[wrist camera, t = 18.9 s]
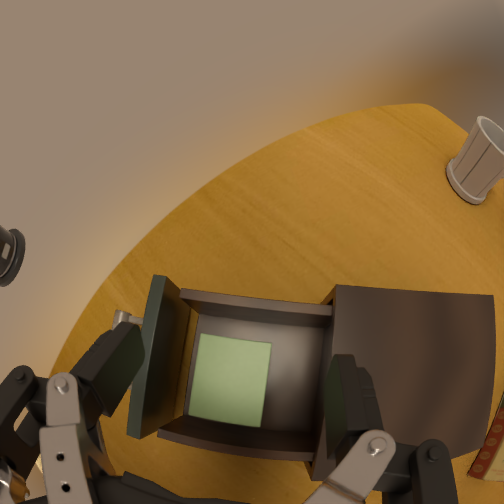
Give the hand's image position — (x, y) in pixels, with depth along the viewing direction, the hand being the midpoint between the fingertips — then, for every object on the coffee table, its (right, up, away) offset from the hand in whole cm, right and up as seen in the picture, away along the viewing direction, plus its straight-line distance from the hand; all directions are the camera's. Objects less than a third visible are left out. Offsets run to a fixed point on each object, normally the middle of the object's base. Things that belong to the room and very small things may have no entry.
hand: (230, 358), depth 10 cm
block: (0, -7, +13) cm, 15 cm away
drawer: (-2, -7, +14) cm, 16 cm away
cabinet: (+15, -9, +14) cm, 22 cm away
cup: (+37, +16, +24) cm, 47 cm away
